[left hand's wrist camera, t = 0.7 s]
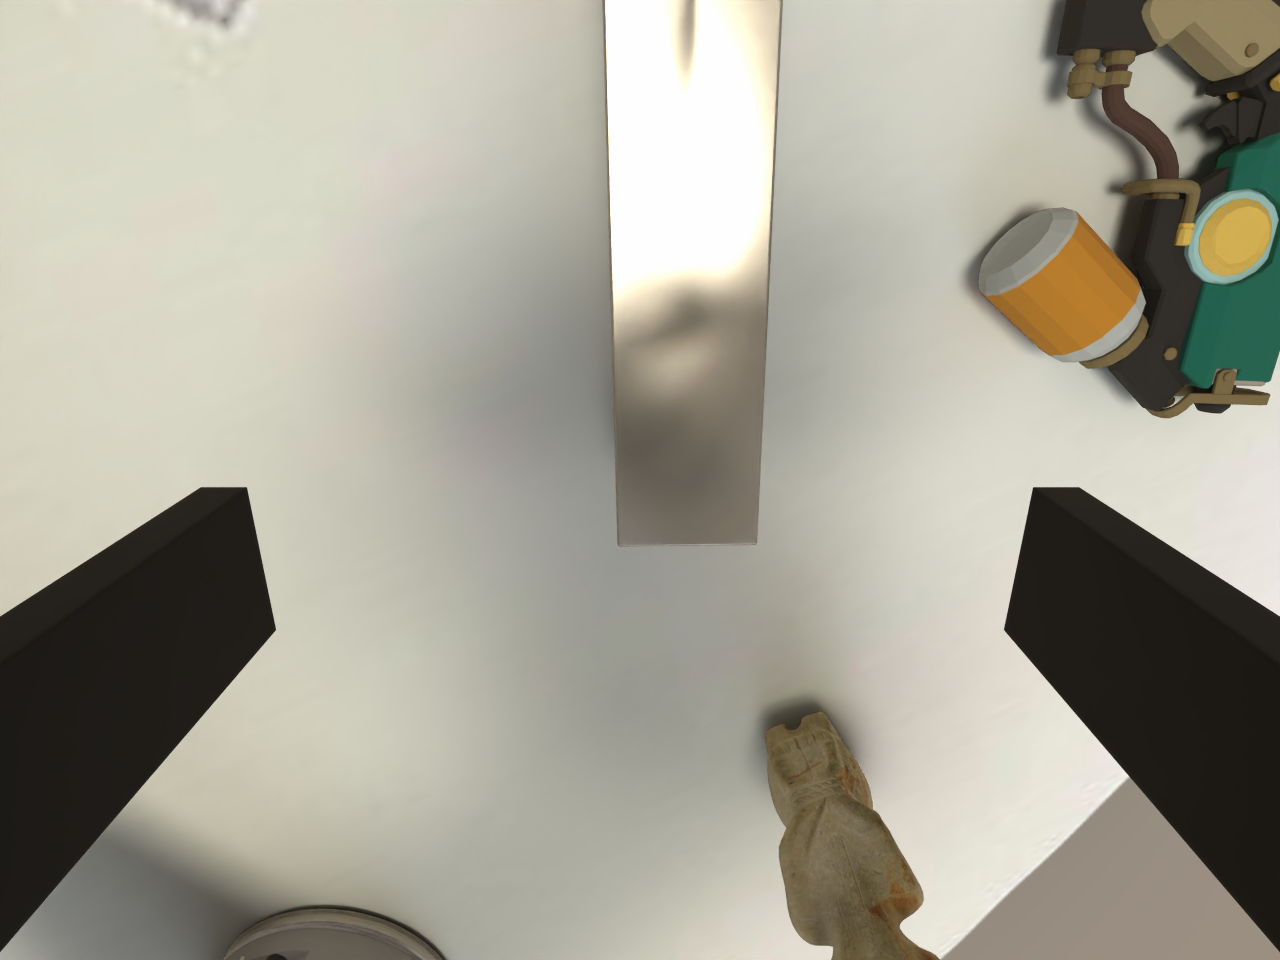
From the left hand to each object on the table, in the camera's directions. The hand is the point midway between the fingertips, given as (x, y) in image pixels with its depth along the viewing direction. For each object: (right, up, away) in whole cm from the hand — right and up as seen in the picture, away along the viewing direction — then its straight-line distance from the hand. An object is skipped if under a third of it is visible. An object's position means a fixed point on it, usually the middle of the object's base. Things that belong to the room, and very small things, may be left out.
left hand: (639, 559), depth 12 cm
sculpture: (+9, -14, +28) cm, 32 cm away
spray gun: (+21, +13, +18) cm, 31 cm away
